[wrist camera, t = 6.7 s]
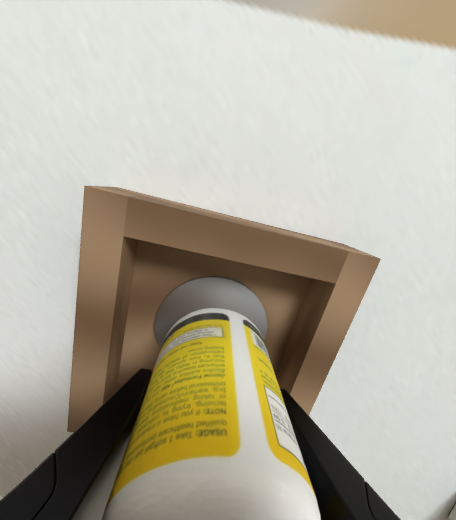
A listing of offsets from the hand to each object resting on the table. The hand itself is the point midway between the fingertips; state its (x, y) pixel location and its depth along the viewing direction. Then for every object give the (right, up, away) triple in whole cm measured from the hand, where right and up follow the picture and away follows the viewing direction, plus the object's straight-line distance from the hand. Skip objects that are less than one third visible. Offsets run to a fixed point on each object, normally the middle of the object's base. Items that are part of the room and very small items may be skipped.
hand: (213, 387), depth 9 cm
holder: (0, +1, +4) cm, 5 cm away
